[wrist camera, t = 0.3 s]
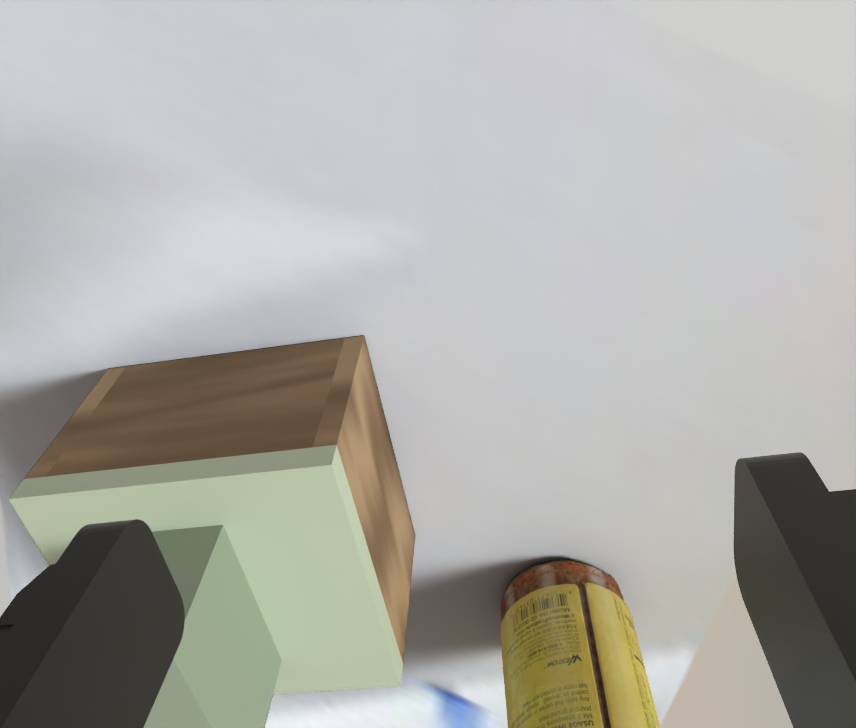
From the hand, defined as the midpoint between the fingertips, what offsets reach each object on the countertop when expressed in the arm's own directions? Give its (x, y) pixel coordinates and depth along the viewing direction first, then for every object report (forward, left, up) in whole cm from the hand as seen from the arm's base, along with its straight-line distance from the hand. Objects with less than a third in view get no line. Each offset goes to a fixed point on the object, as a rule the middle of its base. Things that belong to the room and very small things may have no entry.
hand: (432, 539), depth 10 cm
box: (+12, -10, -18) cm, 25 cm away
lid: (+12, -10, -11) cm, 20 cm away
